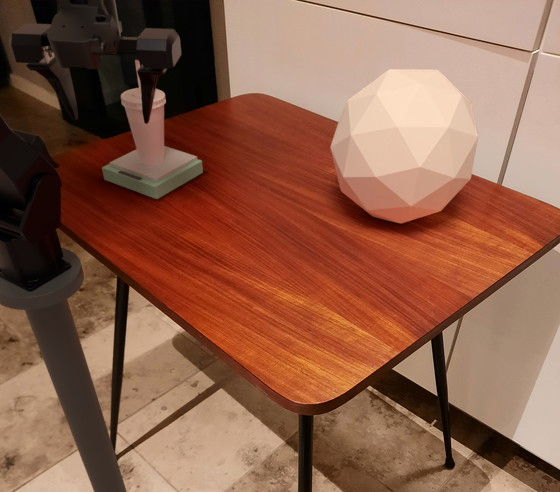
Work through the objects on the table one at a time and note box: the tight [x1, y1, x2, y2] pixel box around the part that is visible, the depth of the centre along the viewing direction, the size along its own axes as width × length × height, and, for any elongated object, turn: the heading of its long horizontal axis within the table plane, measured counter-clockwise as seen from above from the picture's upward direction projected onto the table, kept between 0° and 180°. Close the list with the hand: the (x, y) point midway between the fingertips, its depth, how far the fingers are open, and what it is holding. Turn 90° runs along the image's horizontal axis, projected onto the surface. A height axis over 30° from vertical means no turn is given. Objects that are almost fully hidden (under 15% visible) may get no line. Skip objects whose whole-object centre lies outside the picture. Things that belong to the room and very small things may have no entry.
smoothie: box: [120, 59, 167, 166], centre depth 82 cm, size 6×6×14 cm
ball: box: [330, 68, 479, 224], centre depth 76 cm, size 19×20×20 cm
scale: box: [101, 145, 204, 200], centre depth 88 cm, size 11×11×3 cm
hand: (111, 121), depth 71 cm, fingers open, 9 cm apart
